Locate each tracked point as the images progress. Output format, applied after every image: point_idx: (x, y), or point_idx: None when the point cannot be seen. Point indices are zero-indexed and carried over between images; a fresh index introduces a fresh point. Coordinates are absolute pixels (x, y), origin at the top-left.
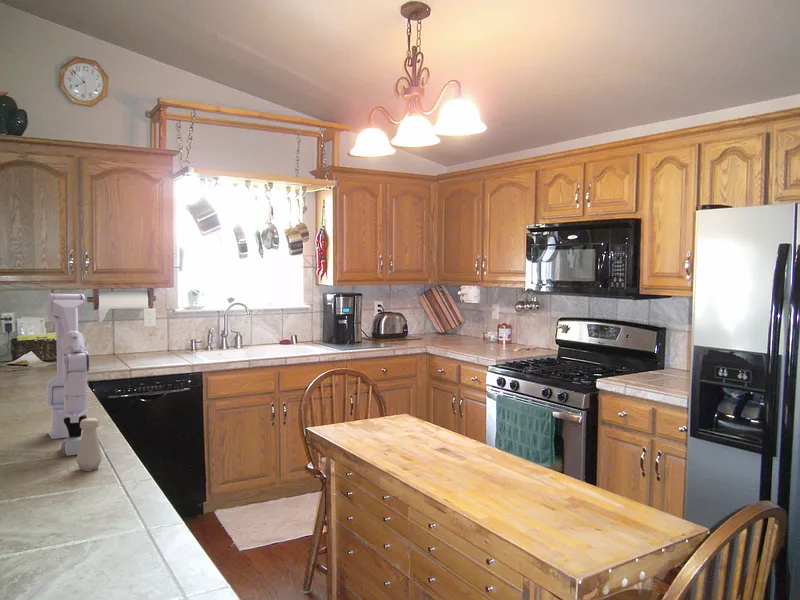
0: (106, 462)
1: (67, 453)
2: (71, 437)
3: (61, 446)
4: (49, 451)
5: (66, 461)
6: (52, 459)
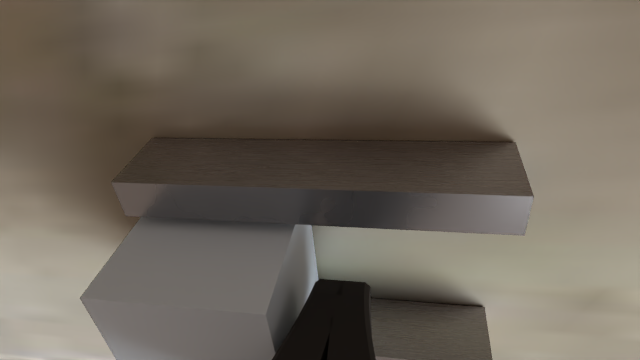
0: (34, 352)
1: None
2: (267, 349)
3: (258, 190)
4: (432, 7)
5: (26, 182)
6: (75, 74)
